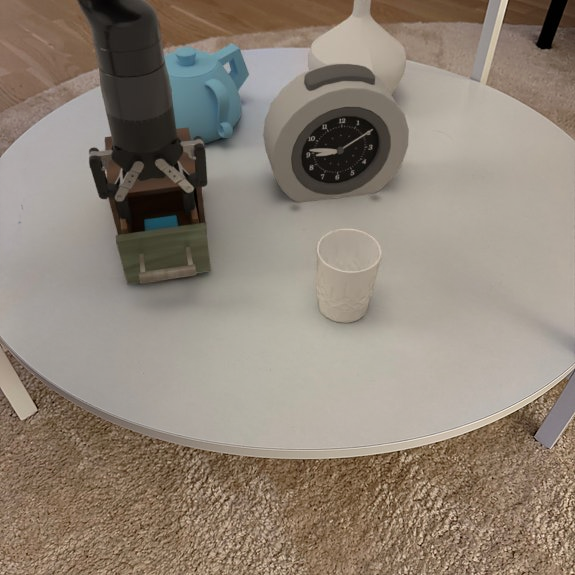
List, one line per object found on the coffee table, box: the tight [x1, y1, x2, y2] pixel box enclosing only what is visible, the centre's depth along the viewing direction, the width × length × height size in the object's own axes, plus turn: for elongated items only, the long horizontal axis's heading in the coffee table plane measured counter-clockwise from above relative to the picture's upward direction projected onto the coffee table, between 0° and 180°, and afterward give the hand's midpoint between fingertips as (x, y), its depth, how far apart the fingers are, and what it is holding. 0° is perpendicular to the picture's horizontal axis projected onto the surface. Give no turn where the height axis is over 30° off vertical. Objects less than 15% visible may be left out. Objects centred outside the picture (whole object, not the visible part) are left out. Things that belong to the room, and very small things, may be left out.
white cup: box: [316, 228, 383, 324], centre depth 77 cm, size 8×8×10 cm
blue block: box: [144, 215, 178, 231], centre depth 83 cm, size 4×4×4 cm
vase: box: [307, 0, 407, 95], centre depth 111 cm, size 18×18×19 cm
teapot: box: [164, 43, 250, 144], centre depth 106 cm, size 19×19×14 cm
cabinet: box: [104, 128, 208, 235], centre depth 90 cm, size 15×13×10 cm
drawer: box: [115, 190, 212, 285], centre depth 82 cm, size 18×11×8 cm, turn 13°
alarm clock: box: [262, 64, 410, 203], centre depth 92 cm, size 21×8×20 cm, turn 102°
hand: (158, 214), depth 79 cm, fingers open, 7 cm apart
